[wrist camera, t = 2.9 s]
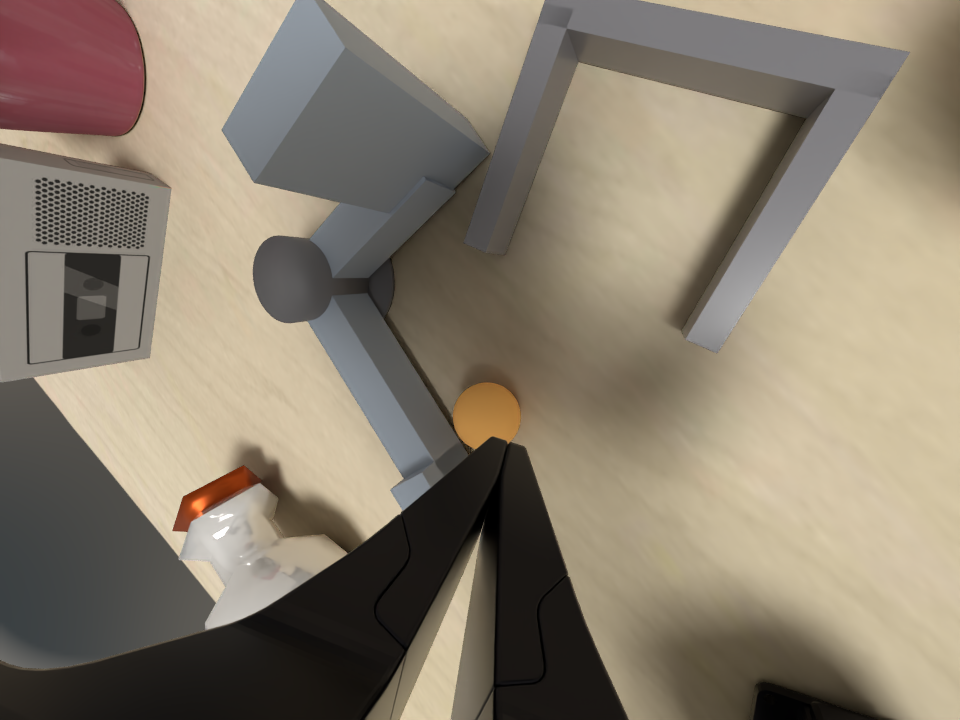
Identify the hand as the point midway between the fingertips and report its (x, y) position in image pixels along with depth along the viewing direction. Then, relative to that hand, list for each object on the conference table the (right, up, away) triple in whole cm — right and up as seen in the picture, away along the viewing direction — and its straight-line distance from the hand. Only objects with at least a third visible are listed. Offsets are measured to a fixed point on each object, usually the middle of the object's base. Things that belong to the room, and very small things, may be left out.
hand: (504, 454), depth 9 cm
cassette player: (-28, +10, +23) cm, 38 cm away
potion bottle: (-13, -12, +22) cm, 28 cm away
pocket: (+6, +10, +7) cm, 14 cm away
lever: (-2, +4, +12) cm, 13 cm away
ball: (0, -1, +11) cm, 11 cm away
